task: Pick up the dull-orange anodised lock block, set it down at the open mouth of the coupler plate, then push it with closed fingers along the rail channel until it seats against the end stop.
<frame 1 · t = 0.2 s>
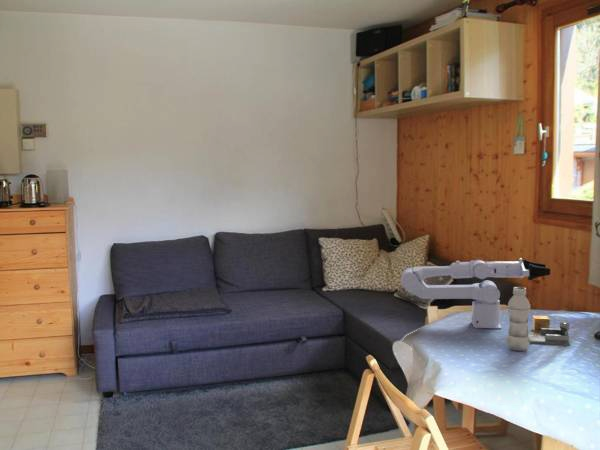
hand: (547, 269, 199), 21 cm above the table, tool horizontal, fingers open, 7 cm apart
coupler: (548, 339, 190), on the table
plastic bottle: (517, 350, 180), on the table
lock block: (540, 331, 198), on the table
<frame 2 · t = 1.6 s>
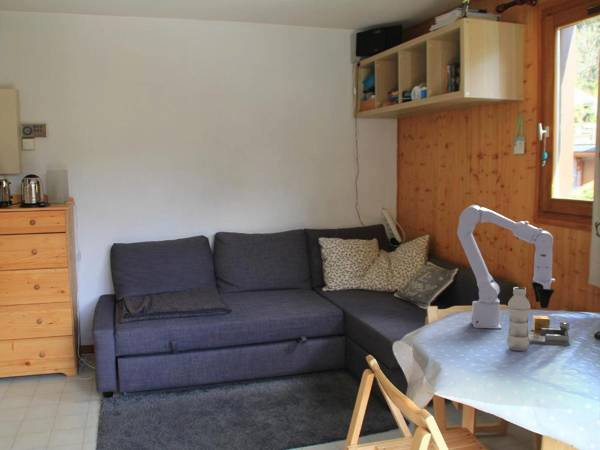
hand: (541, 304, 197), 9 cm above the table, tool pointing down, fingers open, 7 cm apart
nothing on the table moved.
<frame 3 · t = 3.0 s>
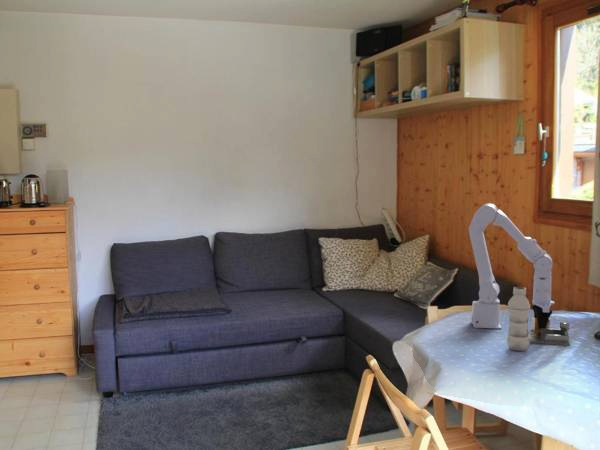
hand: (540, 327, 198), 1 cm above the table, tool pointing down, fingers closed on lock block, 4 cm apart
lock block: (540, 330, 198), on the table, touching gripper
everything else where it was.
when the fingers open (3 cm above the table, at t = 6.8 s): lock block moves 1 cm, resting on coupler.
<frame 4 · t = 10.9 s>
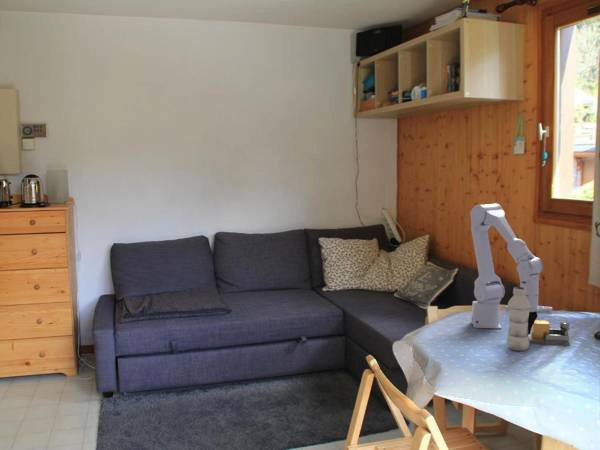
hand: (527, 333, 191), 2 cm above the table, tool pointing down, fingers closed
lock block: (540, 336, 190), point 1 cm above the table, touching coupler, gripper
everything else where it was.
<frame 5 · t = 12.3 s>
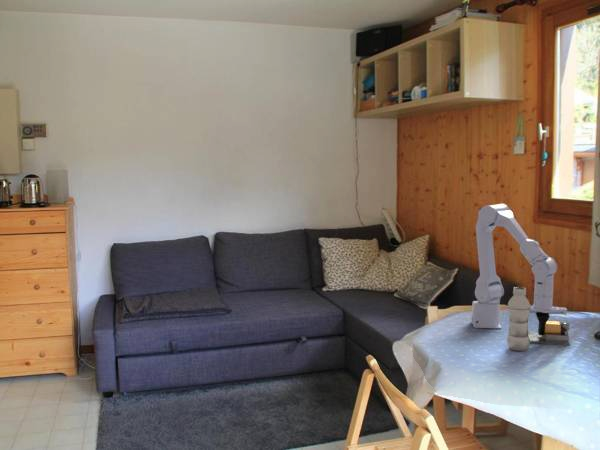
hand: (541, 334, 190), 2 cm above the table, tool pointing down, fingers closed, pressing on lock block
lock block: (551, 337, 189), point 1 cm above the table, touching coupler, gripper
everything else where it was.
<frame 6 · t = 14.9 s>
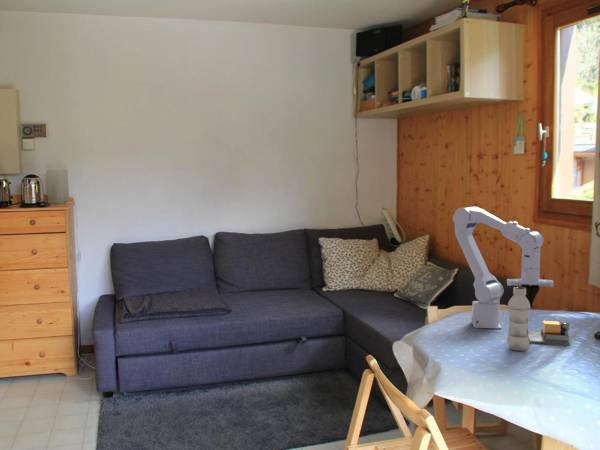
hand: (529, 306, 193), 10 cm above the table, tool pointing down, fingers closed
lock block: (551, 337, 189), point 1 cm above the table, touching coupler
everything else where it was.
at the end: lock block 1.0 cm from the target spot on the coupler, point 0.8 cm above the coupler's base; lock block tilted 0°; the gripper is holding nothing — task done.
